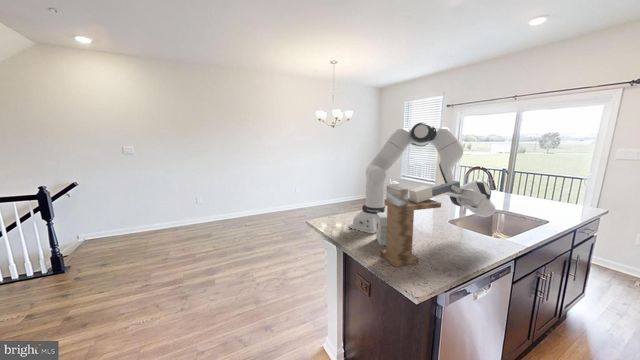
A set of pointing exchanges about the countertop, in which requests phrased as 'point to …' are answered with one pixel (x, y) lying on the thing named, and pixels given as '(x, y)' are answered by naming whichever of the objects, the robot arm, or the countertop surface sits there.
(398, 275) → the countertop surface
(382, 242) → the supplement box
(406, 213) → the stand
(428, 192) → the grey and white bar
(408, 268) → the countertop surface
